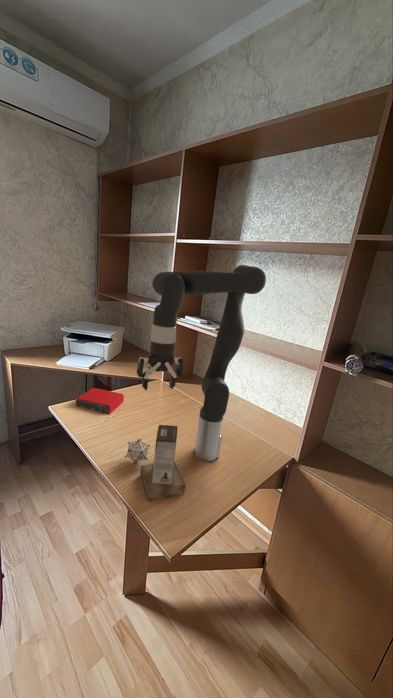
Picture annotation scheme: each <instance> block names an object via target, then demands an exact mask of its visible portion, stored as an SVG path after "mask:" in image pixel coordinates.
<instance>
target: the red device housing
mask: <svg viewBox="0 0 393 698" xmlns="http://www.w3.org/2000/svg"><path fill="white" fill-rule="evenodd" d="M124 397H125V395H124V394H123V393H120V392H115V391H111V390H106V389H101V388H96V387H93V388H91V389H89V390H88V391H86V392H84V393H83V394H81V395H80V396H78V397H77V398H76V399H75V406H76V407H80V406H81V408H84V409H87V410H88V409H89V410H93V411H97V412H100V413H105V414H109V415H111V414H112V413H113V412H114V411H115V410H116V409H117V408H118V407H120V406H121V405H122V404H123V403H124Z"/></svg>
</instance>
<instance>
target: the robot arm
mask: <svg viewBox="0 0 393 698" xmlns="http://www.w3.org/2000/svg"><path fill="white" fill-rule="evenodd" d="M266 282H267V276H266V272H265V271H264V270H263V269H261V268H260V267H258V266H253V265H252V266H251V265H246V264H239V265H238V266H236V267H235V268H234V270H233V271H232V272H223V271H213V270H210V271H209V270H201V271H199V270H198V271H187V272H186V271H185V272H181V271H162V272H158V273H157V274H155V276H154V277H153V279H152V288H153V290H154V292H155V293H156V294H158V295H159V296H161V299H160V303H159V304H157V305H156V306H155V307H154V310H153V317H152V318H153V320H152V327H151V332H150V342H149V343H150V344H149V354H148V355H149V356H148V357H143V356H139V357H138V360H137V369H136V375H137V376H138V378H142V379H141V386H142V388H143V390H144V391H147V390H148V386H149V377H150V376H151V375H153V373H155V372H157V373H158V372H164V373H165V372H167V371H168V372H169V374H170V376H169V377H170V378H169V385H168V386H169V389H174V387H176V383H177V381H176V380H177V378H178V377H182V376H183V369H184V366H183V365H184V359H183V357H181V356H180V355H178V356H177V357H174V355H175V347H176V341H177V323H178V320H177V319H178V313H179V310H180V308H181V305H182V301H183V298H184V295H191V296H196V295H197V296H198V295H199V296H200V295H206V294H207V295H209V294H210V295H211V294H218V293H219V294H220V293H221V294H222V293H227V296H226V301H225V304H224V308H223V309H224V310H223V314H222V317H221V321H220V324H219V327H218V331H217V334H216V338H215V342H214V345H213V349H212V353H211V358H210V361H209V364H208V367H207V369H206V371H205V374H204V377H203V379H202V382H201V390H202V393H203V395H204V400H203V406H202V407H200V410H199V416H198V423H197V429H196V430H197V431H196V439H195V443H194V444H195V445H194V454H195V456H196V457H197V458H199V459H201V460H203V461H208V462H213V461H215V460H216V459H218V458H219V457H220V451H221V445H222V439H223V436H222V435H221V433H222V426H223V420H224V416H225V414H226V412H227V407H228V403H229V397H230V388H229V386H228V385H227V383H226V381H225V378H226V375H227V374H226V373H227V369H228V366H229V364H230V362H231V361H232V359H233V358H234V357H235V356H236V355H237V353H238V351H239V349H240V347H241V344H242V342H243V338H244V335H245V322H244V321H245V320H244V316H243V302H244V299H245V295H246V294H248V295H256V294H258V293H260V292H261V291H263V289H264V288H265V286H266ZM147 363H148V366H147V367H146V368H145V370H144V366H145V365H146V364H147ZM174 363H175V364H176V370H175V371H174V369H173V367H172V365H173V364H174Z"/></svg>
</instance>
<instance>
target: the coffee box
mask: <svg viewBox="0 0 393 698" xmlns="http://www.w3.org/2000/svg"><path fill="white" fill-rule="evenodd" d="M177 439H178V425H167V424H158V427H157V434H156V438H155V446H154V447H155V448H154V459H153V464H154V468H153V478H152V483H156V484H171V482H172V474H173V466H174V461H175V456H176V448H177Z"/></svg>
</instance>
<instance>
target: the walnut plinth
mask: <svg viewBox="0 0 393 698" xmlns="http://www.w3.org/2000/svg"><path fill="white" fill-rule="evenodd" d="M153 468H154V463H149V464H142V465H141V464H140V475H139V476H140V479H141V483H142V486H143V489H144V492H145V496H146V499H147V502H150V501H156V500H161V499H167V498H172V497H173V498H174V497H176V496H183V495H185V492H186V482H185V480H184V478H183V476H182V474H181V472H180V469H179V468H178V466H177V463H176V461H175V460H174V466H173V474H172V482H171V484H156V483H152V478H153Z"/></svg>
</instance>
